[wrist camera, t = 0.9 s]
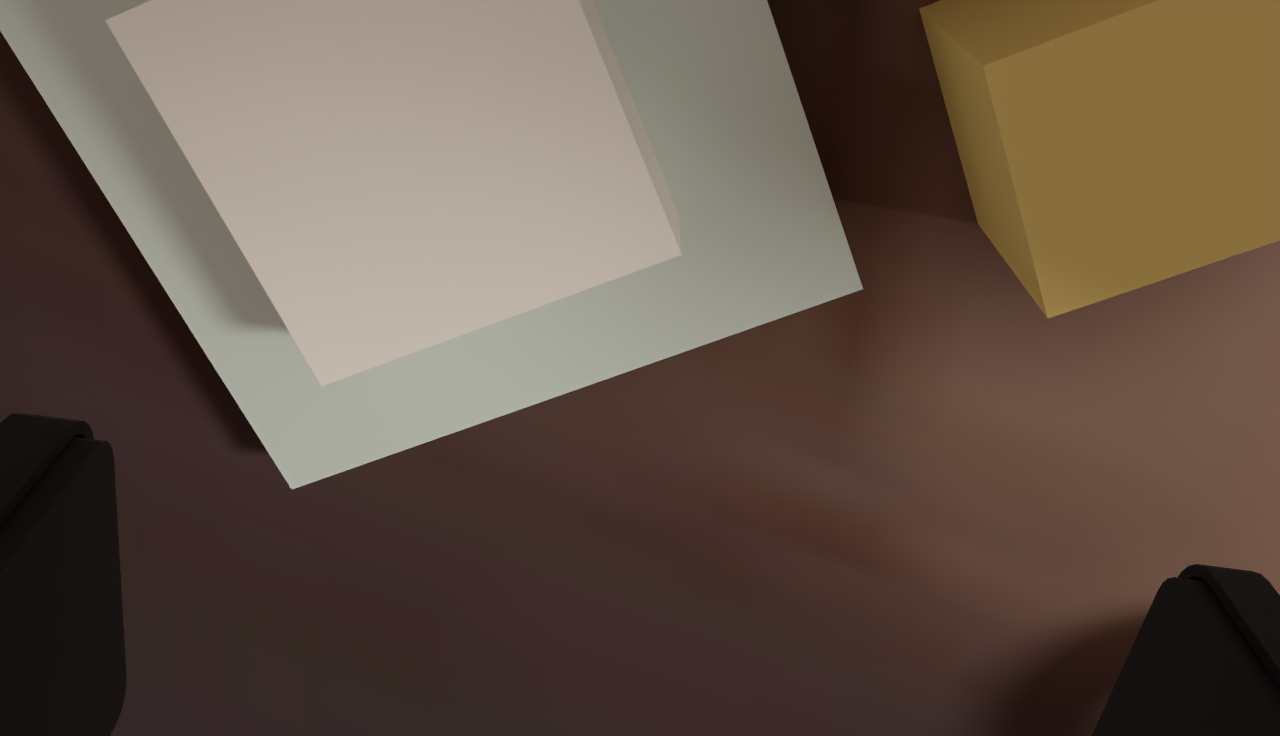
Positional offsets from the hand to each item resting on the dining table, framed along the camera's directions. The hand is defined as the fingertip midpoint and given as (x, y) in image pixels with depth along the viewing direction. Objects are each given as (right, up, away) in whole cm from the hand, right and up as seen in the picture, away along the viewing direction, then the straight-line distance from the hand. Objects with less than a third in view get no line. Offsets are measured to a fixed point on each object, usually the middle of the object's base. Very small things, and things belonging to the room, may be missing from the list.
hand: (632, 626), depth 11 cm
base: (-5, +10, +21) cm, 24 cm away
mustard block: (+12, +10, +21) cm, 27 cm away
